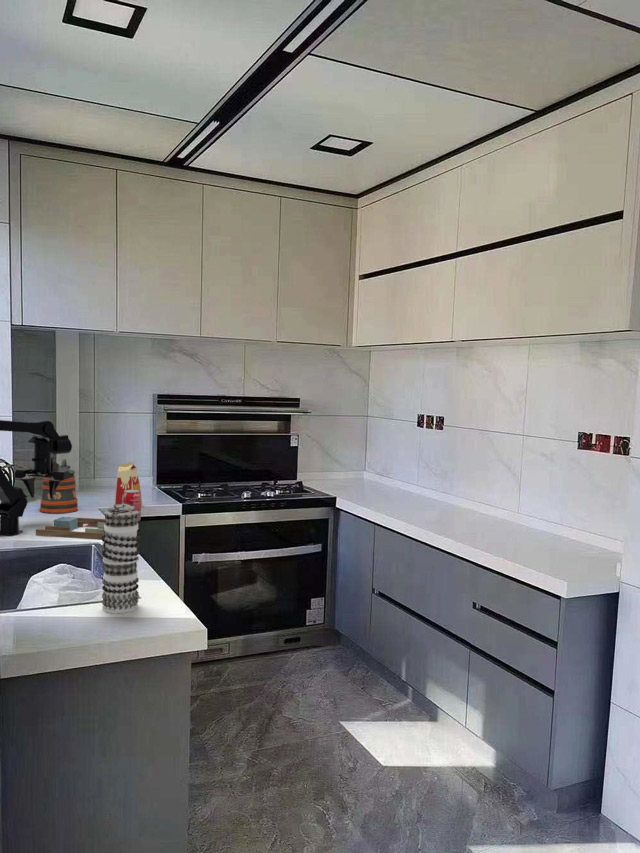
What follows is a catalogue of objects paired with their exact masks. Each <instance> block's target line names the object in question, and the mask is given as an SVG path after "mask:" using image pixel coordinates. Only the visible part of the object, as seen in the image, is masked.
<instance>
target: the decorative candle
mask: <svg viewBox="0 0 640 853" xmlns="http://www.w3.org/2000/svg"><path fill="white" fill-rule="evenodd" d="M138 512H139V511H138V510H136V509H135V507H134V506H133V505H130V504H115V503H114V504H112V505H111V504H110V506H109V507H108V508H107V510H105V511H104V519H105V524H104V528H103V530H101V533H102V535H103V536H102V537H101V538H102V539H100V540H101V541H102V542H103V544H102V545H101V549H102V551H101V556H103V558H102V562H103V563H104V572H103V579H102V584H103V585H102V591H103V592H102V593H101V597H102V600H101V605H102V607H101V608H102V611H103V612H105V613H109V614H123V613H130V612H134V611H136V610H137V609H138V608H139V604H138V603H139V591H138V589H139V582H140V581H139V577H138V573H139V572H138V571H139V570H137V567H138V564H137V563H138V561H139V560H140V558H139V556H138V555H140V554H141V551H140V550H138V547H140V546H141V543H140V542H139V541H140V540H141V539H142V537H141V536H139V535H137V534H138V533H141V532H142V529H141V528H140V527H139V523H138V522H137V520H138V517H137V514H138ZM105 532H106V533H105Z"/></svg>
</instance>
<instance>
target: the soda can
mask: <svg viewBox="0 0 640 853" xmlns="http://www.w3.org/2000/svg"><path fill="white" fill-rule="evenodd" d="M141 496H142V493H141V494H140V492H139V490H125V491H124V494H123V496H122V504H130V505H133V506H134V507H135V509H136V510H138V511H139V512H138V514H137V517H138V520H137V523H138V522H140V521H141V517H142V508H141Z"/></svg>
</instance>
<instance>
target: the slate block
mask: <svg viewBox="0 0 640 853" xmlns="http://www.w3.org/2000/svg"><path fill="white" fill-rule="evenodd" d="M71 517H72V516H61V517H59V518H56V519H54V520H53V526H61V527H70V531H75V530H77V529H78V528H79V527H78V518H79V517H77V518H71ZM74 529H75V530H74Z"/></svg>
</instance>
